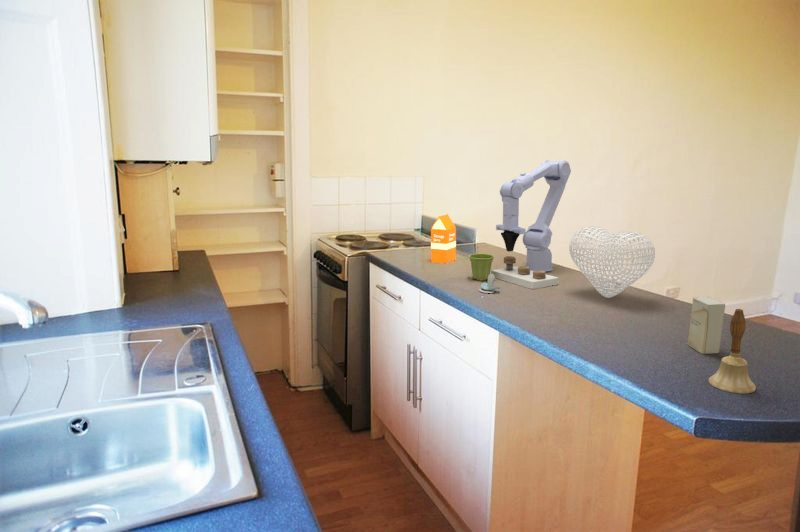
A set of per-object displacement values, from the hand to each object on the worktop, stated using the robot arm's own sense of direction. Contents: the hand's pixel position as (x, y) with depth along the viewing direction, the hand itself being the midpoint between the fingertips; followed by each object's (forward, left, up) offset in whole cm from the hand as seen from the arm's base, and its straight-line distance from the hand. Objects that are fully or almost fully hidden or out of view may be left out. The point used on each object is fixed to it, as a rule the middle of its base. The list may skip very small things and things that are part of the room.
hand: (509, 251), depth 207 cm
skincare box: (+11, +84, -10) cm, 86 cm away
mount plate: (0, +8, -10) cm, 13 cm away
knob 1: (0, 0, -7) cm, 7 cm away
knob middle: (0, +8, -10) cm, 13 cm away
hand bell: (+25, +99, -10) cm, 103 cm away
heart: (-7, +40, -10) cm, 42 cm away
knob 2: (0, +16, -10) cm, 19 cm away
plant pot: (+11, -3, -10) cm, 15 cm away
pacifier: (+20, +13, -10) cm, 27 cm away
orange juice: (+4, -39, -10) cm, 40 cm away
